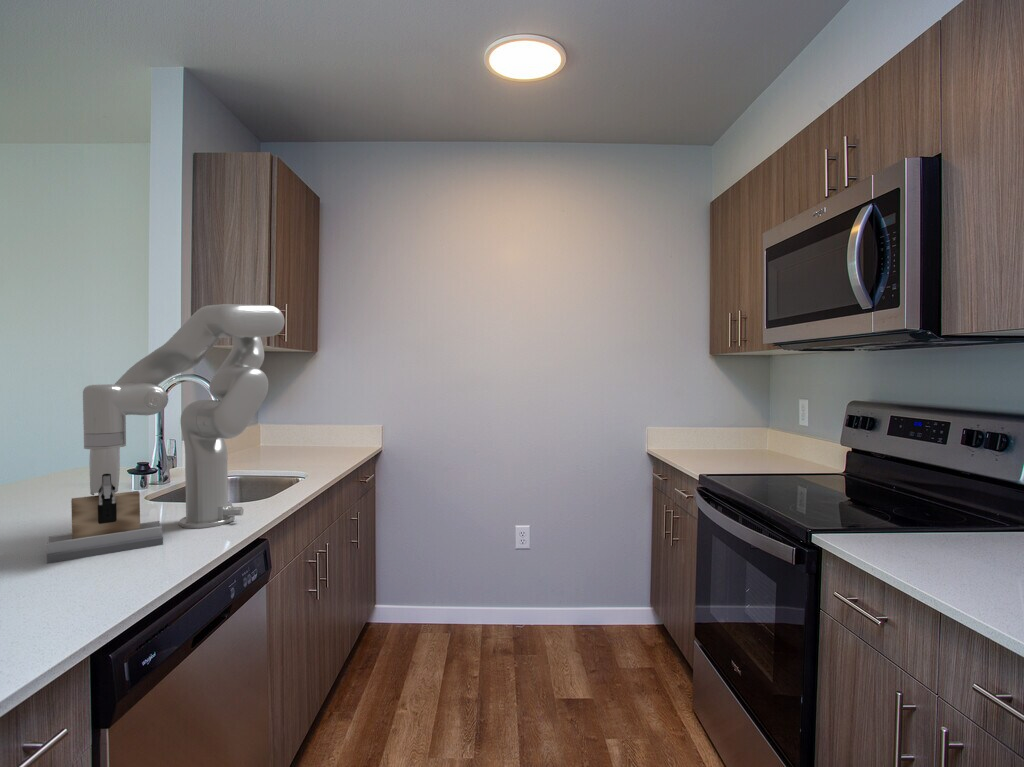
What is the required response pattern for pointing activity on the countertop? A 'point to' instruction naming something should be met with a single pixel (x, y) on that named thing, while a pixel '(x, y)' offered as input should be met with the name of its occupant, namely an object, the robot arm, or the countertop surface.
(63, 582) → the countertop surface
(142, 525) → the bottom track
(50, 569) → the countertop surface
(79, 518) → the door panel
